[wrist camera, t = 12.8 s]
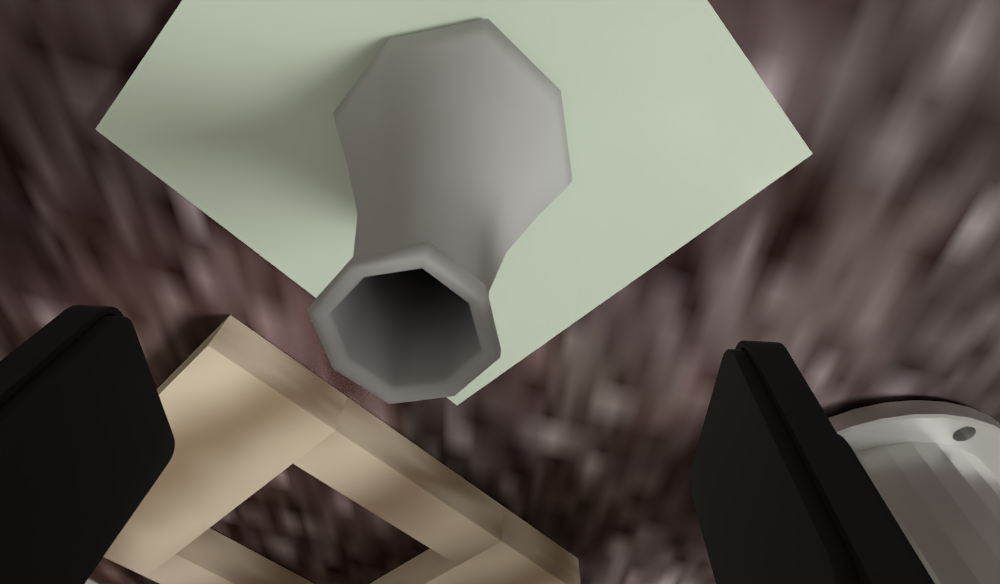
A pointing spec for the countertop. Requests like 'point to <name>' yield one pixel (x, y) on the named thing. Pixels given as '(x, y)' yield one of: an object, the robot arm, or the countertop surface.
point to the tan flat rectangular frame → (325, 455)
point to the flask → (437, 205)
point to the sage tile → (550, 46)
